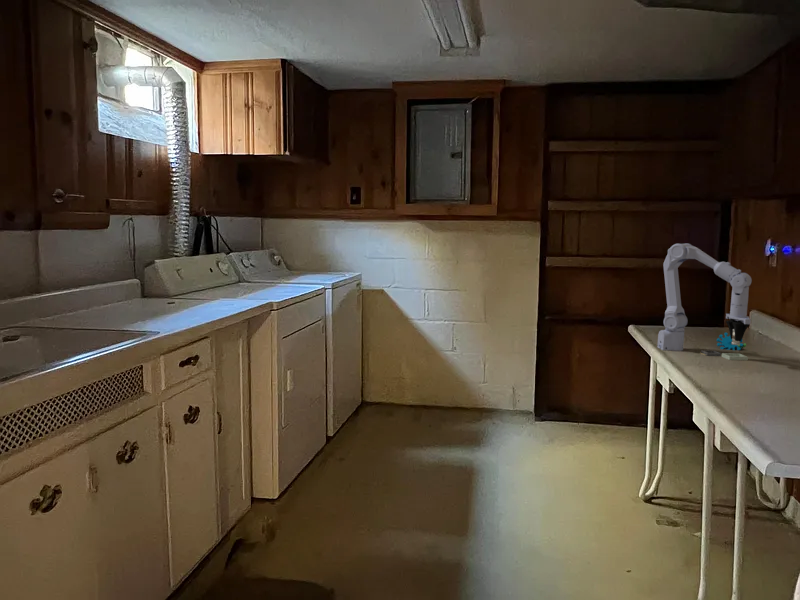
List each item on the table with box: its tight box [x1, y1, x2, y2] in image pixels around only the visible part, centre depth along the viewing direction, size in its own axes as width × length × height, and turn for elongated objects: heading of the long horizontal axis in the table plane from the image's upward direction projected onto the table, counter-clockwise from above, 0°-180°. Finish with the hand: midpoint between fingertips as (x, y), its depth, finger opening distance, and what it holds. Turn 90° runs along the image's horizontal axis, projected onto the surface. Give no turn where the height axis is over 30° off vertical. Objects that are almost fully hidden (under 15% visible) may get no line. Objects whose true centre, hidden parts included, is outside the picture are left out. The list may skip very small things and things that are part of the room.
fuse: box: [732, 329, 741, 345], centre depth 258 cm, size 3×3×6 cm
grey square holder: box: [699, 349, 722, 357], centre depth 266 cm, size 7×6×2 cm
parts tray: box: [721, 352, 749, 361], centre depth 259 cm, size 7×6×2 cm
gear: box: [716, 332, 747, 351], centre depth 281 cm, size 11×6×10 cm
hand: (736, 340), depth 258 cm, fingers closed on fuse, 3 cm apart
